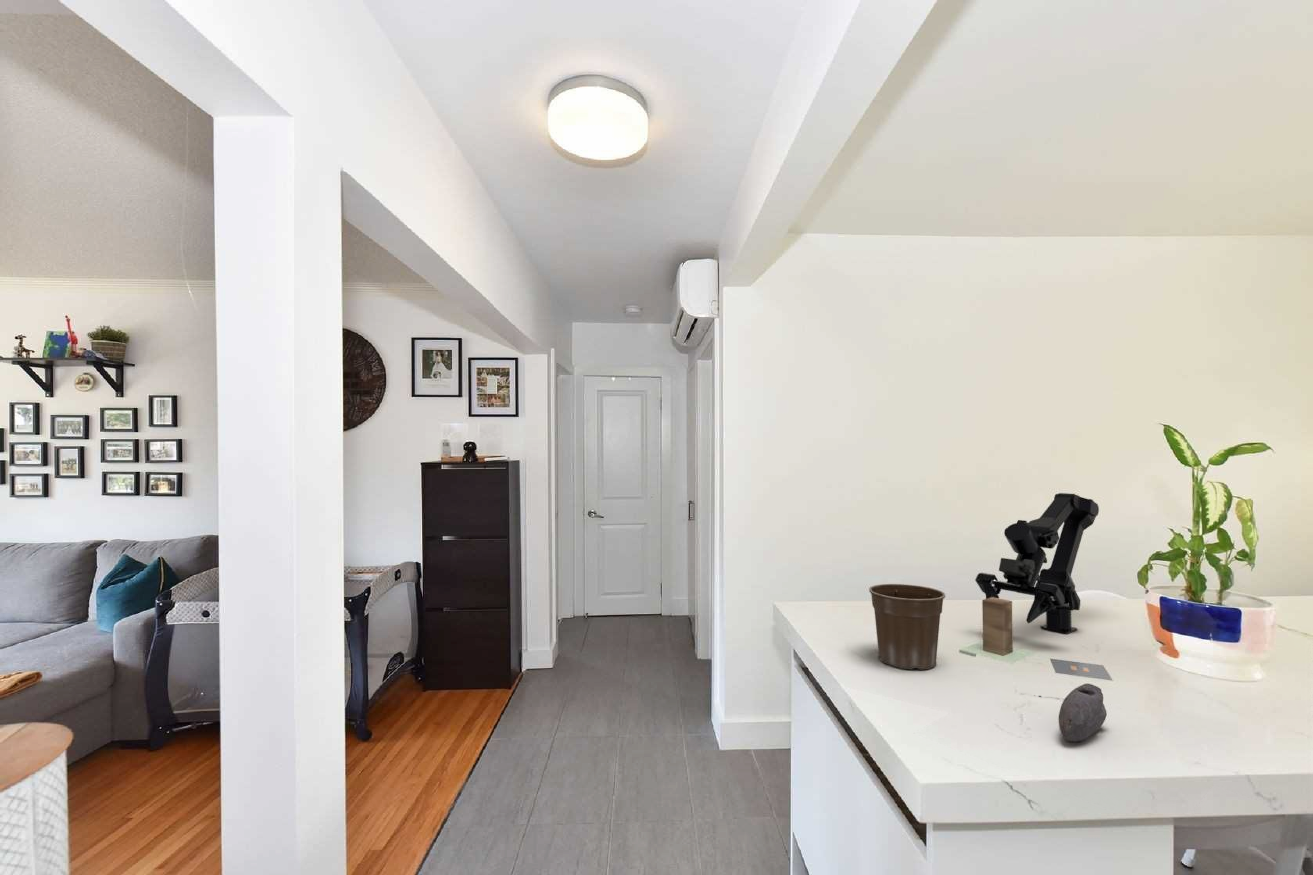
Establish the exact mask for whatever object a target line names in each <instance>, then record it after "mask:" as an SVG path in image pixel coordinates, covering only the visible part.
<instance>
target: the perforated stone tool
mask: <svg viewBox="0 0 1313 875" xmlns="http://www.w3.org/2000/svg"><path fill="white" fill-rule="evenodd" d="M1059 708H1060V709H1059V712H1058V727H1059V731H1060V733H1061V735H1062V737H1063V738H1064V739H1065V740H1066V741H1067V742H1069V743H1070V742H1072V743H1075V742H1077V743H1078V742H1081V741H1084V740H1085V739H1087V738H1090V737H1091V736H1092V735H1094V734H1095V733H1096V732H1097V731H1098V730H1100V729H1101V727H1102V726H1103V724H1104V723H1105V721H1106V718H1107V714H1108V713H1107V710H1106V707H1105V704H1104V694H1103V692H1102V688H1100V687H1099V686H1096V685H1094V684H1091V683H1087V682H1086V683H1084V684H1082V685H1079V686H1077V687H1075V688H1074V689H1071V691H1070V692H1069V693H1068V694H1067V696H1066V697H1065V698H1064V700H1063V701H1062V703H1061V705H1060V707H1059Z"/></svg>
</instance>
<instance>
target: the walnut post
mask: <svg viewBox="0 0 1313 875" xmlns="http://www.w3.org/2000/svg"><path fill="white" fill-rule="evenodd" d="M981 604H982V611H981V612H982V641H983V651H986V652H990V653H993V654H997V655H1001V656H1005V655H1007V654H1010V653H1012V652H1013V646H1014V645H1013V644H1014V642H1013V640H1014V637H1013V600H1009V599H1003V598H1000V597H999V598H994V597H991V598H987V599H986V598H984V599H982V603H981Z"/></svg>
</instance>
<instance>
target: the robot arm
mask: <svg viewBox="0 0 1313 875" xmlns="http://www.w3.org/2000/svg"><path fill="white" fill-rule="evenodd" d="M1099 512H1100V507H1099V504H1098V503H1097V502H1095V501H1094V499H1092V498H1087V497H1082V496H1080V495H1078V494H1076V493H1067V492H1059V493H1055V494H1054V497H1053V500H1052V501H1051V503H1050V504H1049V506H1048V507H1047V508H1046V509H1045V510H1044V512H1043V513H1042V515H1041V516H1040V517H1039V518H1036V519H1033V520H1030V521H1028V520H1024V519H1023V520H1022V519H1017V521H1016V522H1015V523H1013V524H1010V525H1008V526H1007V527H1006V528H1005V529H1004V532H1003V534H1004V537H1005V539H1007V542H1008V543H1009V545H1010V547H1011V549H1012V551H1013V552H1014V553H1016V554H1017V555H1016V557H1015V559H1014V558H1013V559H1012V558H1006V557H1001V558H1000V560H999V561H1000V562H999V567H998V571H999V572H1002V573H1003V576H1002V577H1003V579H1005V580H1006V581H1002V580H999V579H998V578H997V576H996V575H995V574H991V573H986V572H979V573H978V574H977V575H976V577H975V580H974V581H975V582H976V585H978V587H979V589H980V590H981V592H982V593H984V594H985V599H987V598H991V597H994V598H999V599H1000V596H999V595H1000V593H1001V592H1002V591H1007V592H1008V591H1009V592H1014V593H1018V594H1022V595H1029V596H1033V598H1034V599H1033V602H1032V603H1031V606H1030V608H1029V611H1028V613H1027V616H1026V622H1027V624H1030V623H1032V622H1033V621H1035V619H1037V618H1039V617H1040V616H1041V615H1043V614H1045V624H1043V625H1040V629H1042V630H1047V631H1052V632H1057V633H1061V634H1066V635H1067V634H1071V633H1073V632H1076V631H1078V628H1077V627H1073V626H1072V611H1080V607H1081V599H1080V597H1079V595H1078V593H1077V591H1076V589H1075V588H1076V585H1075V582H1074V581H1073V578H1072V572H1073V568H1074V566H1075V563H1076V558H1077V554H1078V552H1079V550H1080V546H1081V541H1082V538H1083V535H1084V531H1085V530H1087V529H1089V527H1090V526H1092V525H1093V524H1094V522H1095V520H1096V518H1097V516H1098V515H1099ZM1062 525H1063V526H1062ZM1061 527H1062V528H1061ZM1060 528H1061V529H1062V530H1061V532H1060V535H1059V529H1060ZM1055 546H1056V549H1055V551H1054V554H1053V557H1052V558H1053V559H1052V562H1051V564H1050V565H1051V566H1050V567H1049V568H1042V567H1043V564H1047V563H1048V559H1047V553H1046V552H1045V549H1050V550H1051V549H1054V548H1055Z"/></svg>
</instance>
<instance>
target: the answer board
mask: <svg viewBox="0 0 1313 875" xmlns="http://www.w3.org/2000/svg"><path fill="white" fill-rule="evenodd" d="M959 653H961V654H965V655H968V656H973V657H977V655H978V656H980V657H985V658H989V659H993V660H997V661H1000V662H1004V663H1008V664H1011V665H1014V664H1016V663H1018V662H1020V661H1023V660H1025V659H1027V658H1029V657H1031V656H1033V655H1037V653H1036V652H1033V651H1030V650H1026V649H1021V648H1016V647H1013V652H1012V653H1010V654H1007V655H1005V656H1001V655H997V654H993V653H990V652H986V651H983V640H982V641H978V642H976V643H973V644H971V645H968V646H966V647H963V648H959Z"/></svg>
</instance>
